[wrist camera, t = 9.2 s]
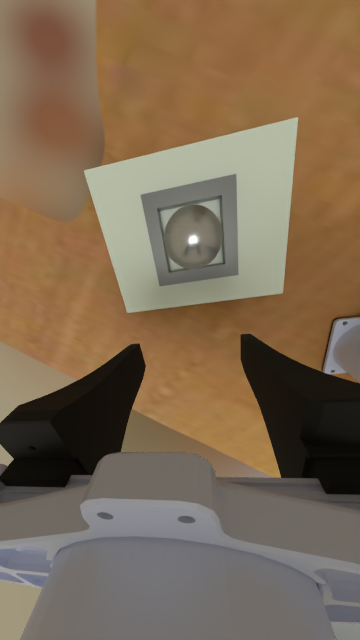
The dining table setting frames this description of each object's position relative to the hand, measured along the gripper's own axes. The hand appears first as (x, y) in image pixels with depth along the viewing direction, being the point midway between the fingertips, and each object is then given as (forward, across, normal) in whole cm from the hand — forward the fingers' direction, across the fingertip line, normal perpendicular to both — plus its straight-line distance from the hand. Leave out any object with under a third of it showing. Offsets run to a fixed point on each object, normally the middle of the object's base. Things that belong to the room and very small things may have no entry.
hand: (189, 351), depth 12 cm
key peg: (+9, -1, -7) cm, 11 cm away
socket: (+9, -1, -7) cm, 12 cm away
